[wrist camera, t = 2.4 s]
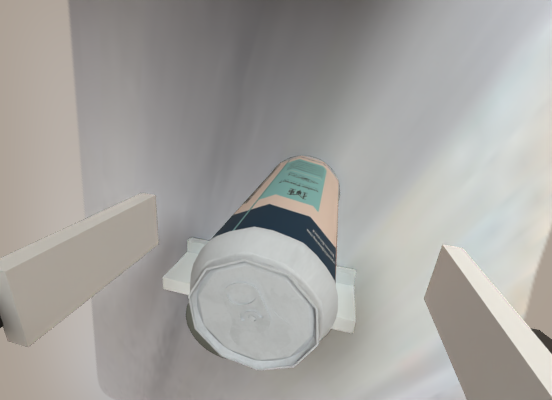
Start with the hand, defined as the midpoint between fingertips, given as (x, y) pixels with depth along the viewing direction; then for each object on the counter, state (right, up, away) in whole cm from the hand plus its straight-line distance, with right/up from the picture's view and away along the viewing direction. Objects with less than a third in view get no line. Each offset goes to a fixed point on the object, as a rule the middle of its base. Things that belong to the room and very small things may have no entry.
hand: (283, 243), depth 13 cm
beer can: (+2, +3, +6) cm, 7 cm away
